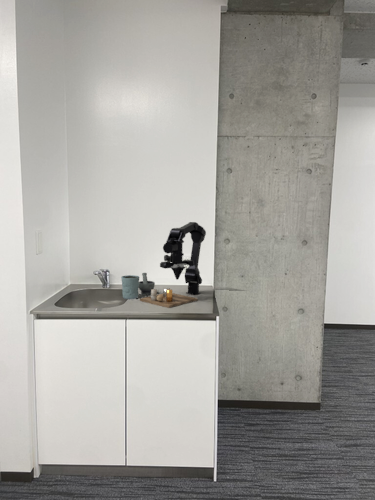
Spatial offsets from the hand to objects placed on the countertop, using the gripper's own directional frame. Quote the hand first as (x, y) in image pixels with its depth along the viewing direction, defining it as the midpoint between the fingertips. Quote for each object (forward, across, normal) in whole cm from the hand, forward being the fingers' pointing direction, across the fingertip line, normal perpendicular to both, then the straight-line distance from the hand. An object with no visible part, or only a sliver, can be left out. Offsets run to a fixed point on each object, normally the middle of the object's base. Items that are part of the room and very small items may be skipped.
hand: (177, 279), depth 231 cm
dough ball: (+8, +12, +3) cm, 15 cm away
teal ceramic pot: (+12, +20, -18) cm, 30 cm away
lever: (+10, +5, -2) cm, 11 cm away
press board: (+12, +5, -1) cm, 13 cm away
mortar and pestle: (+12, +8, -23) cm, 27 cm away
